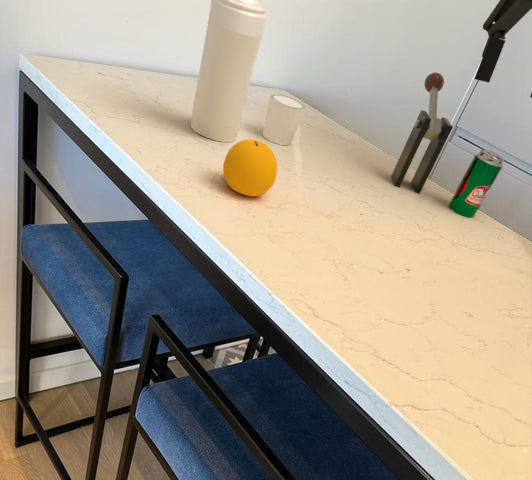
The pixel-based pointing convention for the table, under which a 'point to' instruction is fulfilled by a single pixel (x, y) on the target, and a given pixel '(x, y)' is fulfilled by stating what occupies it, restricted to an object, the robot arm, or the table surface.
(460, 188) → the soda can
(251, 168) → the orange fruit
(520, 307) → the table surface
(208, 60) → the spray can
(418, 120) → the dark brown parallel bars
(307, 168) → the table surface
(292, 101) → the white cylinder
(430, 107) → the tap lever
